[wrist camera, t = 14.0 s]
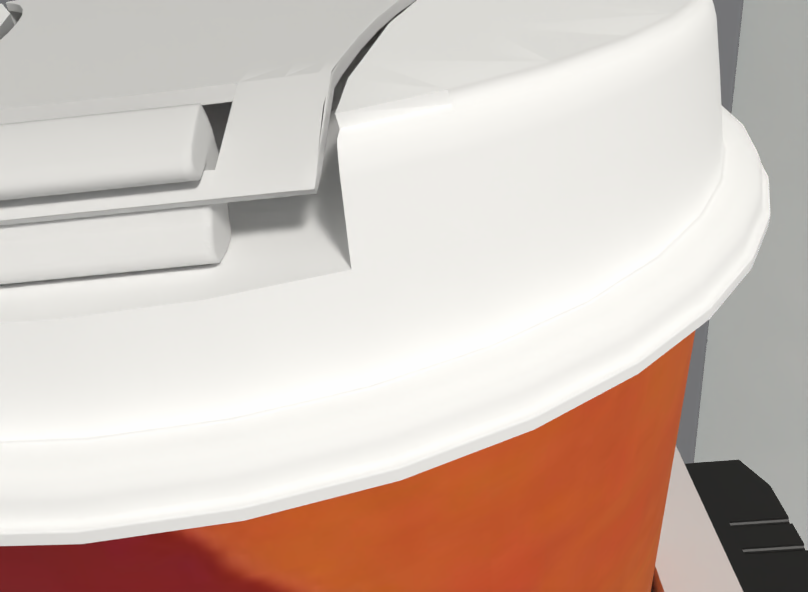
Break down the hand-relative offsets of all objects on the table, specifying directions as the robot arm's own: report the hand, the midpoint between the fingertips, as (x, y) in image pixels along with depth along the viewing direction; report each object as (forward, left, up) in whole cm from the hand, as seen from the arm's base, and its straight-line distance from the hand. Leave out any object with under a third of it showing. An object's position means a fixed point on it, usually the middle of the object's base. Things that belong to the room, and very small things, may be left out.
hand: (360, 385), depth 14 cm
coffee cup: (0, -8, +5) cm, 9 cm away
